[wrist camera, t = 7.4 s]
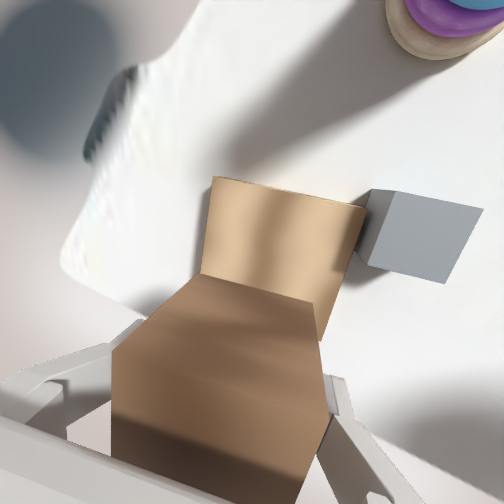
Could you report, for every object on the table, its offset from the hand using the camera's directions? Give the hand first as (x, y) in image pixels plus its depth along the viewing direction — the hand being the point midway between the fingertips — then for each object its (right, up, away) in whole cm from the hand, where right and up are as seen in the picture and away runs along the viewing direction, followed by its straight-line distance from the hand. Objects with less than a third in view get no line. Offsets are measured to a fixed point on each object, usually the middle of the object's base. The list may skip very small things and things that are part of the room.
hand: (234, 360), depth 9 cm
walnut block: (0, 0, +2) cm, 2 cm away
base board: (+3, +4, +13) cm, 14 cm away
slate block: (+12, +6, +10) cm, 17 cm away
